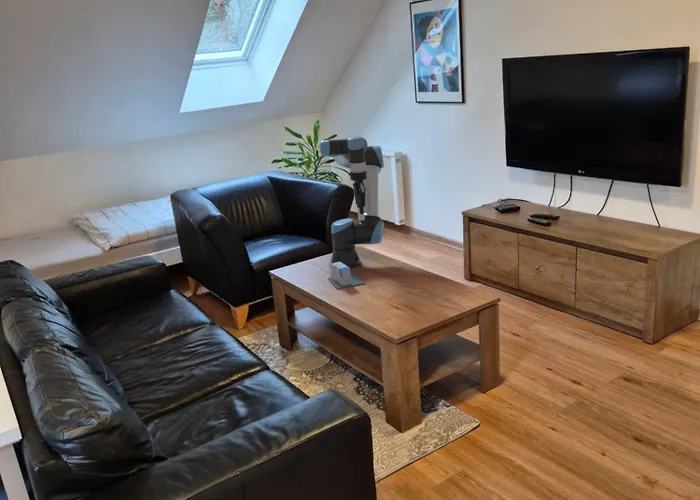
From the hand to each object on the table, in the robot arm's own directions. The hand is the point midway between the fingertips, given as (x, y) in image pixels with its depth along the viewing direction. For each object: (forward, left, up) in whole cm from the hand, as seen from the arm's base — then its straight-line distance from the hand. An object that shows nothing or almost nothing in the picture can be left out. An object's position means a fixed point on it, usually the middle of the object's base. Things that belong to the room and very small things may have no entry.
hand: (361, 219), depth 301 cm
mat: (-1, -10, -30) cm, 31 cm away
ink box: (+7, -12, -25) cm, 28 cm away
